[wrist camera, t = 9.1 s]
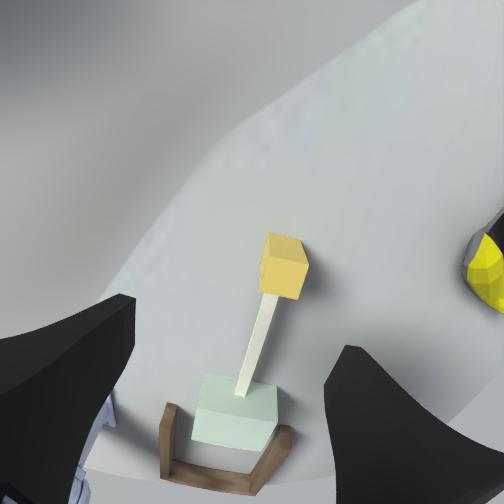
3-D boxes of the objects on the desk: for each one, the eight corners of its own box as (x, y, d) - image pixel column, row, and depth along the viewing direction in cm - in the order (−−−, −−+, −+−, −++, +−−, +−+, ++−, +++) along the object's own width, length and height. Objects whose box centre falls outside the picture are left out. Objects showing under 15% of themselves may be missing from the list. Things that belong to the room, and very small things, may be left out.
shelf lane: (165, 460, 28) (160, 478, 26) (167, 402, 24) (159, 426, 21) (255, 477, 29) (254, 496, 26) (289, 426, 24) (291, 450, 21)
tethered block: (198, 406, 24) (191, 439, 20) (236, 224, 18) (228, 246, 14) (261, 418, 24) (260, 451, 20) (329, 247, 18) (345, 273, 14)
